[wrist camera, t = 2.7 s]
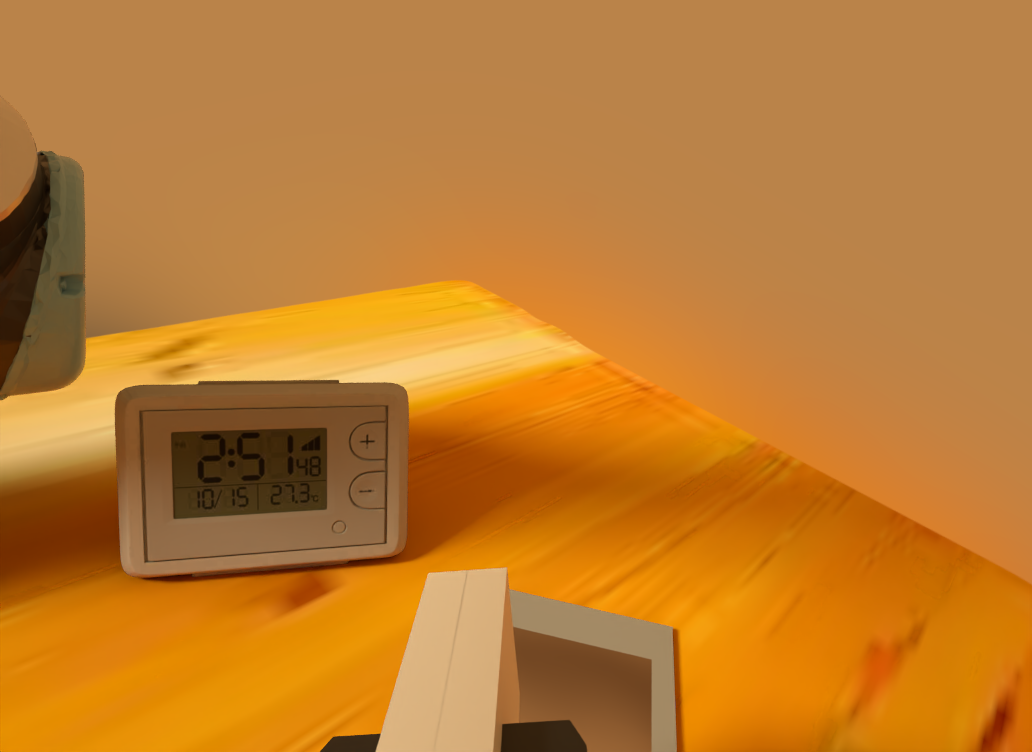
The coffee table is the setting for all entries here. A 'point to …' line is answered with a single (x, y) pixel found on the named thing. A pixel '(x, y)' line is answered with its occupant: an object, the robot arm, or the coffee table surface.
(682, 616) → the coffee table surface
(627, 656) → the walnut block
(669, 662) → the felt mat
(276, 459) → the digital clock
